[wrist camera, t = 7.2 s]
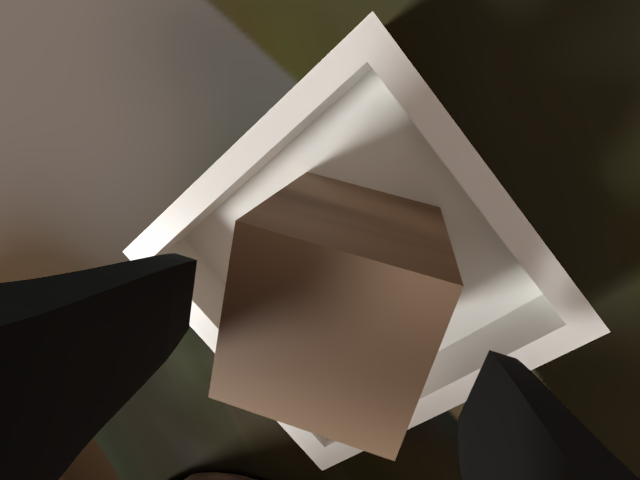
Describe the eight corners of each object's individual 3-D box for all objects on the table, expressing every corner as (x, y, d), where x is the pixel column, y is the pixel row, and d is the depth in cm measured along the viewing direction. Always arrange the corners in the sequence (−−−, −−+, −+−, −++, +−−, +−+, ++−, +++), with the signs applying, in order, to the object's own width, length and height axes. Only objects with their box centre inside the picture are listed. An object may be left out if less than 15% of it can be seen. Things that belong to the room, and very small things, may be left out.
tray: (575, 291, 14) (610, 331, 11) (334, 419, 17) (322, 470, 15) (379, 28, 12) (373, 11, 10) (165, 229, 16) (122, 251, 14)
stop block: (399, 324, 15) (394, 461, 9) (282, 288, 15) (208, 397, 10) (440, 207, 13) (463, 286, 7) (306, 171, 14) (234, 220, 8)
